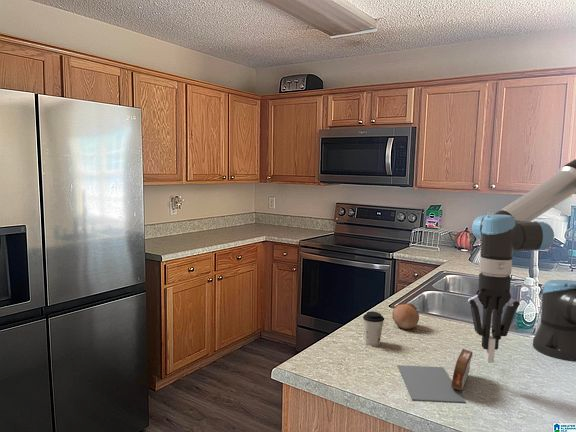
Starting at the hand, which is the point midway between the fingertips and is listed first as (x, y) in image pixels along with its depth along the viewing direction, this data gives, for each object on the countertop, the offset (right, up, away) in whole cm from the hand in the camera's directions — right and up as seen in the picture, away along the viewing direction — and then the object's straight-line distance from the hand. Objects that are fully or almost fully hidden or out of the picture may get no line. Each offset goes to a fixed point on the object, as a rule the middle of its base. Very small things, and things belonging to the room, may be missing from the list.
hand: (488, 360), depth 114 cm
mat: (-16, -7, +2) cm, 17 cm away
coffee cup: (-25, -4, +28) cm, 38 cm away
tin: (-7, -7, +1) cm, 10 cm away
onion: (-11, -3, +43) cm, 45 cm away
